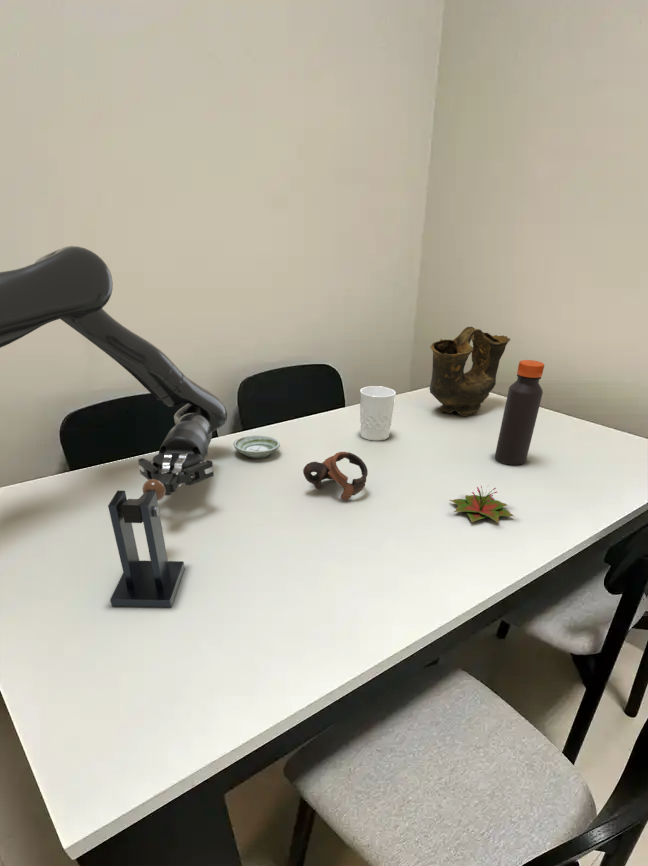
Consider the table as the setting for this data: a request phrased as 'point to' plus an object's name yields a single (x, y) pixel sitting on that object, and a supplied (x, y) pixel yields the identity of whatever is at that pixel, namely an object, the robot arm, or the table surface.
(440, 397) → the pottery vessel
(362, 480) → the brown curved ring piece
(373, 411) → the white cup
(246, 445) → the saucer
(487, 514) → the lily flower
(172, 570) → the bracket
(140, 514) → the lever
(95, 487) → the table surface
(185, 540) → the table surface
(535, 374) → the bottle
